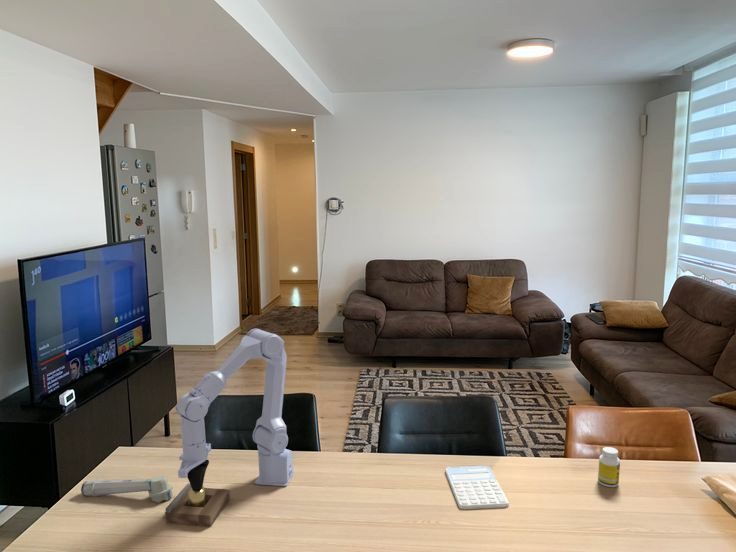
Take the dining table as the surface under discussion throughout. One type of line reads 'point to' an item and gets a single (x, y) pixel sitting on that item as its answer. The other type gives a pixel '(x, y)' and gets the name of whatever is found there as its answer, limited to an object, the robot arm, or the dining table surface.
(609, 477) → the supplement bottle
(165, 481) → the grey long knobbed part
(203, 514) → the jig
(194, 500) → the tan cylinder
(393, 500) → the dining table surface
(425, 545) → the dining table surface
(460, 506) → the calculator
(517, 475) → the dining table surface
